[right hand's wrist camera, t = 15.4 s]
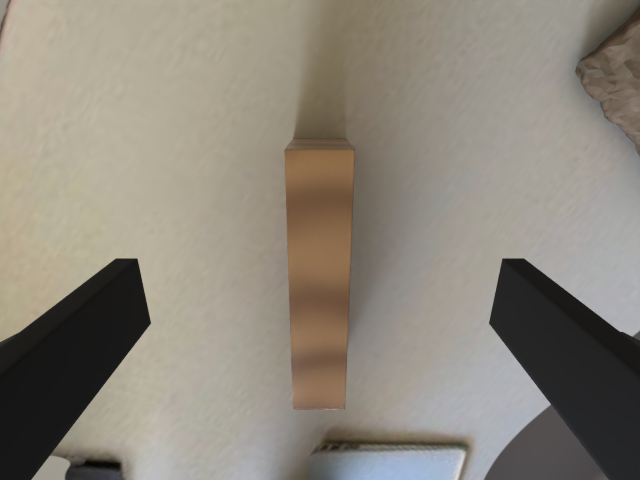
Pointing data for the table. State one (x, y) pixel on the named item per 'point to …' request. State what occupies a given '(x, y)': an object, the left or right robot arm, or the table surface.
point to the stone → (617, 77)
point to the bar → (319, 267)
